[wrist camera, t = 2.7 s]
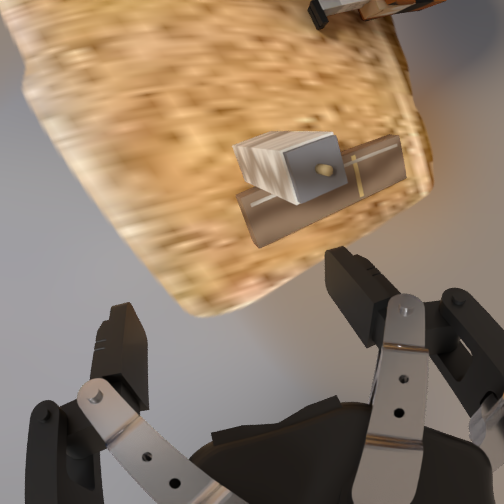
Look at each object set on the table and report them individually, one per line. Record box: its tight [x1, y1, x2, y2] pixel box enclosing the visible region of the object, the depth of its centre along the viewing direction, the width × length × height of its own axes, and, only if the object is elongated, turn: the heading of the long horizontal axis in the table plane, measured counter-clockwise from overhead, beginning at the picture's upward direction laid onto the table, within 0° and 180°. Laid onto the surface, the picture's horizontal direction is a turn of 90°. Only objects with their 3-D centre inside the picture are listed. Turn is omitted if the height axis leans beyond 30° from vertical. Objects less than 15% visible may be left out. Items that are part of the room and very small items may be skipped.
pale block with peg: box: [232, 131, 348, 205], centre depth 35 cm, size 6×6×18 cm
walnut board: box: [236, 134, 407, 249], centre depth 47 cm, size 8×30×3 cm, turn 110°
